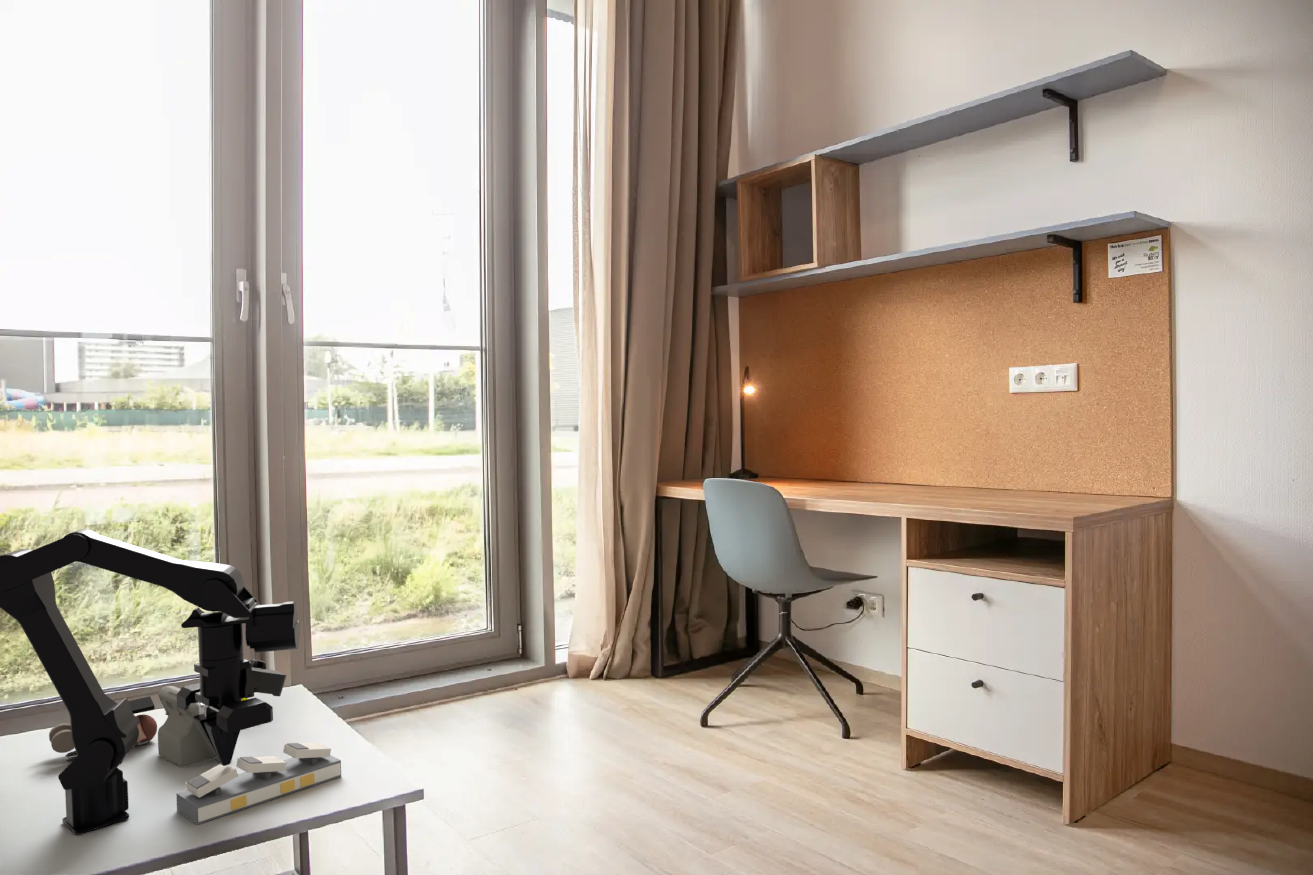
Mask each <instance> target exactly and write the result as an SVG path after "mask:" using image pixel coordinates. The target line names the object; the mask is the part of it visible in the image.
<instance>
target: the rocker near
mask: <svg viewBox="0 0 1313 875" xmlns="http://www.w3.org/2000/svg"><path fill="white" fill-rule="evenodd" d="M238 774H239V773H238V772H237V767H236V768H235V767H234V766H232V765H230V764H229V765H226V766H223V765H221V764H220V763H219V764H218V765H215V766H213V767H212V768H210V769H209V770H207V771H204V772H203V773H201V774H199V775H197V776H195V777H193V778H192V779H189V780H188V781H185V788H186V790H188V791H189V792H191V793H192V794H194V795H196V796H197V797H199V798H200V797H202V796H203V795H205V794H207V793H209V792H211V791H212V790H214V789H216V788H218V787H220V786H221V785H223V784H225V783H227V782H229V781H230V780H232V779H234V778H236V777H238Z"/></svg>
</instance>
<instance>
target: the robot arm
mask: <svg viewBox="0 0 1313 875" xmlns="http://www.w3.org/2000/svg"><path fill="white" fill-rule="evenodd" d="M76 562H77V563H82V564H86V565H89V566H92V567H96V568H99V569H102V570H105V571H108V572H112V573H116V574H119V575H122V576H126V577H128V578H132V579H135V580H138V581H142V582H146V583H149V584H151V585H155V586H159V587H162V588H165V589H166V590H169V591H171V592H172V593H174V594H175V595H176V596H178V597H179V598H181V599H182V600H184V601H186V602H188V603H189V604H192V605H194V606H195V608H194V609H193V610H191V613H190V615H189V617H188V618H186V619H185V620H184V621H183V622H182V623H181V625H180V626H181V628H182V629H191V628H197V634H198V635H197V639H198V663H194V664H193V670H194V672H195V673H197V674H199V682H198V683H194V684H189V685H188V684H187V685H185V686H182V687H181V688H180V689H181V690H180V691H179V692H178V693H177V707H179V708H180V709H182V710H187V709H188V708H189V706H190V704H191V703H196V705H197V706H199V715H196V716H193V719H194V720H195V721H196V723H197V724H198V726H199V728H200V729H201V731H202V733H203V734H204V736H205V738H206V740H207V741H208V743H209V745H210V746H211V748H212V750H213V752H214V754H215V755H216V757H217V759H218V760H217V762H219V764H221V765H223V766H226V765H230V764H231V763H232V759H233V756H234V753H235V749H236V745H237V743H238V738H239V735H240V732H241V731H242V730H246V729H250V728H253V727H257V726H261V725H265V724H269V723H271V722H273V721H274V710H273V709H274V708H273V706H272V705H271V704H269V703H268V702H266V701H265V700H262V699H260V698H258V697H255V693H259V694H267V695H272V696H273V697H281V695H282V693H283V688H284V685H285V681H286V679H287V674H285V673H283V672H280V671H277V670H274V669H271V668H267V664H266V662H265V661H263V660H260V659H253V658H251V659H250V660H249V659H245V657H244V655H245V654H244V651H245V650H244V635H245V644H246V646H247V647H249V649H250V650H251V649H253V650H254V652H255V653H267V652H277V651H278V652H279V651H291V650H298V649H299V646H300V634H301V633H300V632H301V626H300V625H301V623H300V620H299V617H298V611H297V608H296V607H297V606H296V605H297V604H296V601H295V600H294V601H293V600H291V601H284V602H281V603H270V604H260V601H259V600H258V599H257V598H256V597H255V595H253V594H252V593H251V591H249V589H248V588H247V587H246V586H245V582H244V577H243V575H242V573H241V570H239V569H238V568H237V567H235V566H233V565H230V564H225V563H220V562H219V563H217V562H209V561H198V560H185V559H179V558H176V557H172V556H170V555H166V554H163V553H159V552H157V551H154V550H150V549H146V548H144V547H141V546H138V545H135V544H131V543H128V542H124V541H122V540H117V539H115V538H111V537H108V536H105V535H101V534H99V533H97V532H96V531H94V530H92V529H87V528H86V529H83V528H82V529H79V530H76V531H72V532H70V533H68V534H66V535H65V536H64V537H62V538H59V539H57V540H55V541H52V542H50V543H47V544H44V545H42V546H40V547H37V548H35V549H29V548H21V549H18V550H14V551H11V552H7V553H3V554H1V555H0V609H1V610H2V611H4V613H6V614H7V615H9V616H10V617H12V619H14V620H15V621H17V623H18V624H19V625H20V627H21V628H22V630H23V632H24V634H25V635H26V638H27V639H28V641H29V643H30V644H31V647H32V649H33V650H34V652H35V653H36V657H37V658H38V659H39V661H40V663H41V665H42V666H43V668H44V670H45V672H46V674H47V675H48V677H49V679H50V681H51V683H52V684H53V686H54V688H55V690H56V692H57V694H58V696H59V697H60V698H61V701H62V703H63V705H64V706H65V708H66V710H67V712H68V714H69V718H70V721H69V722H70V724H71V734H72V741H73V744H74V747H75V748H74V751H76V753H77V754H76V756H77V757H76V758H75V759H74V760H72V761H70V763H69V764H68V765H67V766H66V767H65V768H64V769H63V770H62V771H61V772H60V773H59V774H58V776H57V778H58V780H59V782H60V785H61V787H62V789H63V790H64V794H65V817H63V818H61V819H62V820H61V821H62V823H63V825H65V827H67V828H68V829H69V830H70V831H71V832H72V833H74V834H75V835H79V834H80V835H81V834H83V833H86V832H90V831H93V830H96V829H99V828H102V827H106V826H109V825H111V824H115V823H119V822H122V821H125V820H128V819H129V818H130V814H129V813H128V812H127V811H128V810H129V807H130V806H129V787H128V786H129V785H128V783H129V782H128V780H126V779H125V778H124V771H123V770H122V769H120V768H118V767H119V766H120V765H122V764H123V761H124V759H125V758H126V756H127V755H128V754H129V753H130V752H131V750H132V749H133V748H134V747H135V746H136V745H135V744H136V742H137V740H138V737H139V730H138V727H137V725H138V724H139V723H140V720H139V719H138V718H137V717H135V716H136V714H133V713H132V710H131V707H130V704H129V702H128V701H129V700H128V699H127V698H128V697H127V698H126V697H125V698H122V700H120V701H119V702H116V701H114V700H113V699H112V698H111V697H109V696H108V695H107V694H106V693H105V692H104V690H103V688H102V686H101V685H100V683H99V681H98V680H97V679H98V678H97V677H96V675H95V674H94V672H93V670H92V668H91V666H90V664H89V663H88V661H87V659H86V657H85V655H84V653H83V652H82V650H81V648H80V646H79V645H78V643H77V641H76V639H75V637H74V635H73V634H72V632H71V629H70V628H69V626H68V625H67V622H66V620H65V618H64V617H63V615H62V614H61V613H62V612H60V609H59V607H58V606H57V602H56V600H57V599H56V598H57V597H56V585H55V581H54V578H53V574H52V573H54V572H55V571H57V570H60V569H63V568H64V567H67V566H69V565H71V564H73V563H76ZM203 610H204V611H203ZM244 624H245V634H243V633H244V632H243V630H244V628H243V625H244ZM242 698H248V699H247V700H243V701H241V699H242Z"/></svg>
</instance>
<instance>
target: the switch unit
mask: <svg viewBox="0 0 1313 875" xmlns="http://www.w3.org/2000/svg"><path fill="white" fill-rule="evenodd" d="M282 760H283V761H285V762H287V763H286V768H285V771H274V772H258V773H247V772H245V771H243V772H241V773H237V774H238V777H236V778H234V779H232V780H230V781H229V782H227V783H225V784H223V785H221V786H220V787H218V788H216V789H214V790H212V791H211V792H209V793H207V794H205V795H203V796H202V797H200V798H199V797H197V796H196V795H194V794H192V793H191V792H189V791H188V790H187V789H185V790H183V791H182V790H181V791H178V792H176V794H175V795H176V796H175V797H176V812H178V813H179V814H181V815H182V816H184V817H185V818H187V819H188V820H190V822H192V823H194V824H195V825H200V824H203V823H206V822H209V821H212V820H215V819H218V818H222V817H224V816H227V815H230V814H233V813H236V812H239V811H242V810H246V809H248V808H252V807H254V806H257V805H260V804H263V803H266V802H269V801H272V800H274V799H277V798H280V797H283V796H284V797H285V796H287V795H290V794H293V793H296V792H298V791H299V792H300V791H301V790H305V789H308V788H312V787H314V786H317V785H319V784H320V785H321V784H323V783H325V782H329V781H331V780H334V779H335V780H336V779H338V778H340V777H342V760H341V759H339V758H338V757H335V756H332V755H331V754H330V757H315V758H294V757H289V758H286V759H282Z"/></svg>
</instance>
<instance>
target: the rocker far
mask: <svg viewBox="0 0 1313 875" xmlns="http://www.w3.org/2000/svg"><path fill="white" fill-rule="evenodd" d="M331 751H332V748H331V747H329V746H326V745H324V744H322V743H320V742H309V743H308V742H307V743H303V742H302V743H300V742H293V743H292V742H291V743H284V746H283V752H282V753H283V754H286V755H288V756H290V757H291V758H293V757H294V758H315V757H330V755H331Z"/></svg>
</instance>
